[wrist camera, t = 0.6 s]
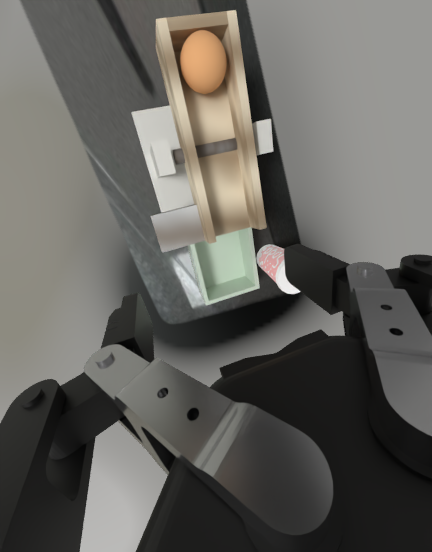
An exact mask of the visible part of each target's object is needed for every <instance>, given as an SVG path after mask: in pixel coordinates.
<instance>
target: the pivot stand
mask: <svg viewBox="0 0 432 552" xmlns="http://www.w3.org/2000/svg"><path fill="white" fill-rule="evenodd" d="M132 116H133V119H134V123H135V126H136V129H137V133H138V136H139V139H140V143H141V146H142V149H143V153H144V156H145V159H146V163H147V166H148V169H149V173H150V176H151V179H152V183H153V186H154V189H155V193H156V196H157V199H158V203H159V206H160V209H161V212H166V211H170V210H174V209H178V208H182V207H186V206H190V205H194V201H193V197H192V193H191V189H190V185H189V181H188V176H187V172H186V168H185V164H184V163H183V164H178V165H176V163H175V160H174V156H173V150H174V149H179V148H180V144H179V140H178V136H177V132H176V128H175V124H174V120H173V116H172V112H171V108H170V106H164V107H158V108H153V109H147V110H141V111H135V112H132ZM252 128H253V135H254V142H255V149H256V155H261V154H265V153H269V152H273V141H272V128H271V119H267V120H262V121H257V122H255V123H253V124H252Z"/></svg>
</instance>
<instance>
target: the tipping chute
mask: <svg viewBox="0 0 432 552" xmlns="http://www.w3.org/2000/svg"><path fill="white" fill-rule="evenodd" d="M199 30H206V31H209V32H211V33H213V34H214V35H216V36H217V38H218V39H219V40H220V41H221V43H222V45H223V47H224V50H225V54H226V62H227V65H226V72H225V76H224V79H223V81H222V83H221V84H220V86H219V87H218V88H217V89H216V90H214V91H213V92H211V93H207V94H201V93H198V92H196V91H194V90H193V89H191V88H190V87H189V85H188V84H187V83H186V81H185V79H184V77H183V75H182V71H181V65H180V56H181V51H182V47H183V45H184V43H185V41H186V39H187V38H188V37H189V36H190V35H191V34H192V33H194V32H196V31H199ZM156 51H157V55H158V59H159V63H160V67H161V71H162V75H163V79H164V83H165V87H166V91H167V95H168V100H169V104H170V108H171V112H172V116H173V120H174V124H175V128H176V132H177V136H178V140H179V144H180V148H179V149H174V150H173V156H174V160H175V163H176V165H178V164H183V163H184V164H185V168H186V172H187V176H188V181H189V185H190V189H191V193H192V197H193V201H194V205H192V206H188V207H184V208H180V209H176V210H172V211H168V212H164V213H160V214H156V215H151V219H152V222H153V225H154V229H155V232H156V235H157V238H158V241H159V244H160V247H161V250H162V253H163V252H166V251H170V250H173V249H177V248H181V247H184V246H188V245H191V244H195V243H199V242H202V241H206V242H208V243H209V244H211V243H215V242H217V241H216V236H220V235H224V234H227V233H231V232H235V231H238V230H242V229H245V228H249V227H251V228H255V229H259V230H261V229H264V228H267V227H266V220H265V213H264V206H263V199H262V192H261V184H260V177H259V170H258V163H257V156H256V149H255V142H254V135H253V128H252V121H251V114H250V107H249V100H248V93H247V86H246V78H245V71H244V64H243V57H242V50H241V43H240V36H239V29H238V22H237V15H236V10H234V11H225V12H216V13H207V14H197V15H188V16H179V17H170V18H161V19H156Z"/></svg>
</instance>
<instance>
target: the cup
mask: <svg viewBox="0 0 432 552" xmlns="http://www.w3.org/2000/svg"><path fill="white" fill-rule="evenodd" d="M216 241H217V242H215V243H211V244H209V243H208V242H206V241H202V242H199V243H195V244H191V245H188V246H187V247H188V250H189V254H190V258H191V262H192V265H193V269H194V273H195V276H196V280H197V284H198V288H199V291H200V294H201V296H202V298H203V300H204V302H205V305H209V304H212V303H215V302H218V301H221V300H224V299H227V298H230V297H234V296H237V295H240V294H243V293H246V292H249V291H252V290H255V289H258V288H260V287H259V280H258V272H257V265H256V257H255V249H254V242H253V234H252V228H251V227H249V228H245V229H242V230H238V231H235V232H231V233H227V234H224V235H220V236H216Z"/></svg>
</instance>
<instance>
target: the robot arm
mask: <svg viewBox="0 0 432 552" xmlns="http://www.w3.org/2000/svg"><path fill="white" fill-rule="evenodd" d="M284 263H285V275H286V278H287V280H288V282H289V283H290V284H291V285H293V286H294V287H295V288H297V289H298V290H299V291H300V292H302V293H303V294H304V295H306V296H307V297H308V298H310V299H311V300H312V301H314V302H315V303H316V304H317V305H319V306H320V307H321V308H323V309H324V310H325V311H327V312H328V313H329V314H331V315H332V314H335V313H338V312H340V311H343V325H344V332H345V336H328V335H327V334H326V333H324V332H323V331H322V330H318V331H316V332H313V333H310V334H308V335H305V336H303V337H300V338H298V339H296V340H295V341H293V342H292V343H290V344H289V345H287V346H286V347H284V348H283V349H282V350H280V351H279V352H277V353H274V354H269V355H262V356H256V357H250V358H245V359H242V360H240V361H237V362H234V363H231V364H229V365H226V366H224V367H221V368H220V372H221V375H222V377H221V378H220V379H219V380H217V381H216V382H215V383H214V384H212V386H211V387H208V386H206V385H204V384H202V383H201V382H199V381H197V380H195V379H194V378H192V377H190V376H188V375H187V374H185V373H183V372H181V371H180V370H178V369H176V368H174V367H173V366H171V365H169V364H167V363H165V362H164V361H162V360H160V359H158V358H155V359H154V345H153V327H152V322H151V319H150V316H149V314H148V311H147V309H146V307H145V304H144V302H143V299H142V297H141V295H140V293H139V292H138V293H134V294H131V295H128V296H124V297H123V301H122V306H121V308H119V309H116V310H115V311H114V312H113V313H112V314H111V316H110V317H109V320H108V325H107V328H106V332H105V335H104V339H103V342H102V346H101V349H100V350H98V351H97V352H95V353H94V354H93V355H92V356H91V357H90V358H89V359H88V361H87V362H86V364H85V366H84V372H83V373H82V374H81V375H79V376H77V377H76V378H74V379H72V380H70V381H68V382H67V383H65V384H63V385H61V386H60V385H59V384H58V383H57V381H56V380H53V379H48V380H44V381H41V382H38V383H36V384H34V385H32V386H31V387H29V388H28V389H26V390H25V391H24V392H23V393H21V394H20V395H19V396H18V397H17V398H16V399H15V400H14V401H13V402H12V404H11V405H10V407H9V409H8V410H7V412H6V414H5V416H4V418H3V420H2V421H1V423H0V552H79V551H80V543H81V536H82V530H83V521H84V515H85V507H86V500H87V494H88V486H89V479H90V471H91V464H92V458H93V450H94V443H95V437H96V436H97V435H98V434H100V433H101V432H103V431H104V430H106V429H107V428H108V427H110V426H111V425H113V424H114V423H115V422H117V421H118V422H119V423H120V424H121V425H122V426H123V427H124V428H125V429H126V430H127V431H128V432H129V433H130V434H131V435H132V436H133V437H134V438H135V439H136V440H137V441H138V442H139V443H140V444H141V445H142V446H143V447H144V448H145V449H146V450H147V451H148V452H149V454H150V455H151V456H152V457H153V459H154V460H155V461H156V462H157V464H158V465H159V466H160V467H161V468H162V469H163V470H164V471H165V472H166V474H167V475H168V476H167V479H166V481H165V484H164V486H163V488H162V491H161V493H160V496H159V498H158V500H157V503H156V505H155V507H154V510H153V512H152V514H151V517H150V519H149V522H148V524H147V526H146V529H145V531H144V533H143V536H142V538H141V540H140V543H139V545H138V548H137V550H136V552H432V256H429V255H409V256H405V257H403V258H402V259H401V262H400V268H395V269H388V270H385V269H384V268H383V267H382V266H380V265H378V264H374V263H368V262H358V263H353V264H348V263H346V262H343V261H341V260H339V259H337V258H334V257H332V256H330V255H327V254H325V253H323V252H321V251H317V250H312V249H310V248H307V247H305V246H303V245H301V244H295V245H292V246H289V247H286V248H285V249H284Z"/></svg>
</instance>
